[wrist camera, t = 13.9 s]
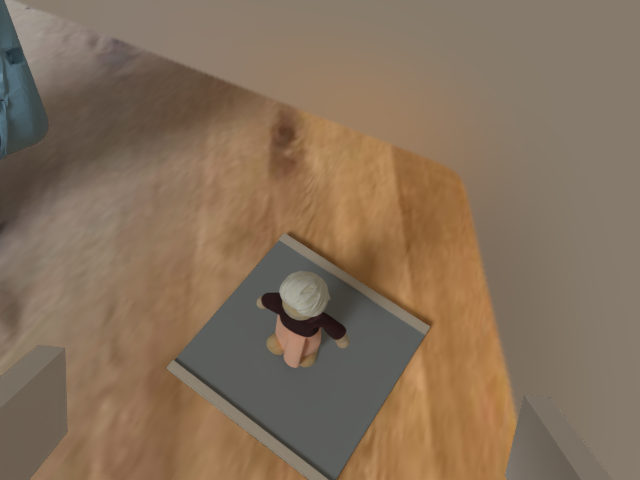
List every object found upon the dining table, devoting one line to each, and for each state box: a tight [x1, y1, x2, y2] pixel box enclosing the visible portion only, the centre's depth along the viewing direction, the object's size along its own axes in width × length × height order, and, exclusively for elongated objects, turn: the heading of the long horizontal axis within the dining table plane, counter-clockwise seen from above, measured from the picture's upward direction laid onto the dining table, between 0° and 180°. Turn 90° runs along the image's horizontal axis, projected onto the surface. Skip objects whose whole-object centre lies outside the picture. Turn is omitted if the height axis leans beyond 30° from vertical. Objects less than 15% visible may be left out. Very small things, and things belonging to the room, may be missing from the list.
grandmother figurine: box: [257, 271, 350, 368], centre depth 38 cm, size 8×4×13 cm, turn 75°
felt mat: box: [166, 233, 430, 480], centre depth 43 cm, size 16×16×1 cm
